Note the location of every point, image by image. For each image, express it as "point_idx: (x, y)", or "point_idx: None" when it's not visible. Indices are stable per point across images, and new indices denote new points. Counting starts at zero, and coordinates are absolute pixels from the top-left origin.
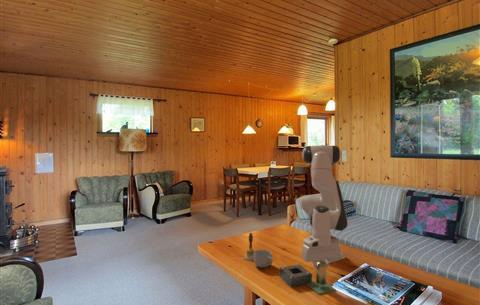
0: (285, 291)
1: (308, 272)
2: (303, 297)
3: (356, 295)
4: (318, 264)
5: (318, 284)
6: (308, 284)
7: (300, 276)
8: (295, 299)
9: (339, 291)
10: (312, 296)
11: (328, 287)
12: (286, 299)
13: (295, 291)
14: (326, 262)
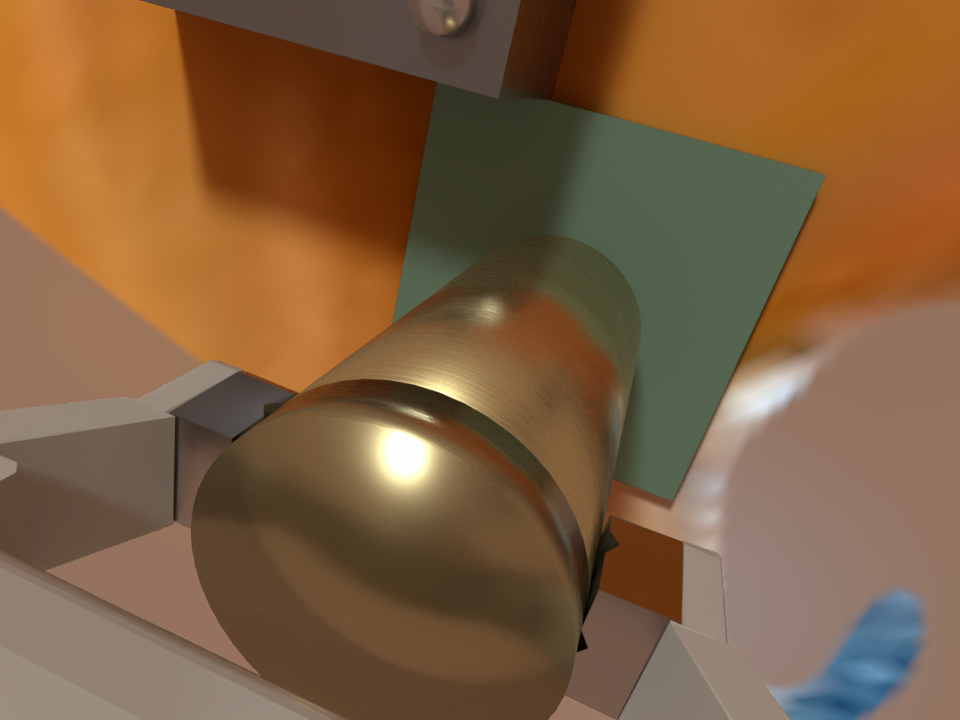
0: (62, 33)
1: (438, 16)
2: (194, 294)
3: (790, 704)
4: (212, 566)
5: (585, 228)
6: (439, 115)
7: (211, 18)
8: (96, 261)
9: (703, 524)
10: (298, 351)
11: (638, 393)
12: (11, 195)
13: (178, 122)
14: (655, 669)
